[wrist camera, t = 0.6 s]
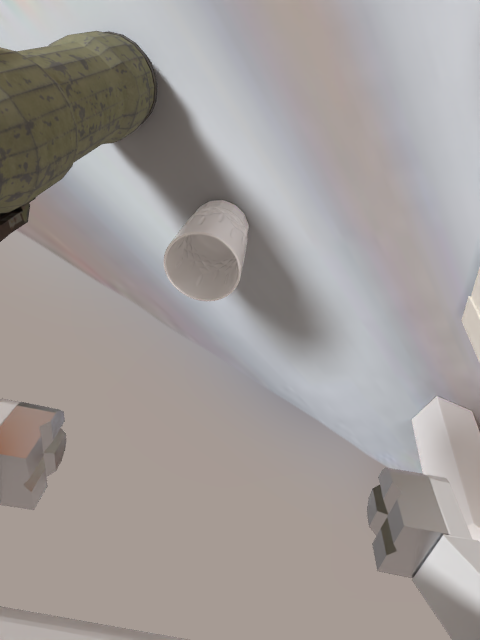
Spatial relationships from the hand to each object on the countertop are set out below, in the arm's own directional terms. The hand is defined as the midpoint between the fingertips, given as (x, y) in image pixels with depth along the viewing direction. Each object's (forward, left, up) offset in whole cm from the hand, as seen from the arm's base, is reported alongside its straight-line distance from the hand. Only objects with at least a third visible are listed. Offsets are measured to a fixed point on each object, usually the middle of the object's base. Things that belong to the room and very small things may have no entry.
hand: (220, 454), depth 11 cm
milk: (+28, +37, -40) cm, 61 cm away
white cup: (+14, -3, -40) cm, 43 cm away
